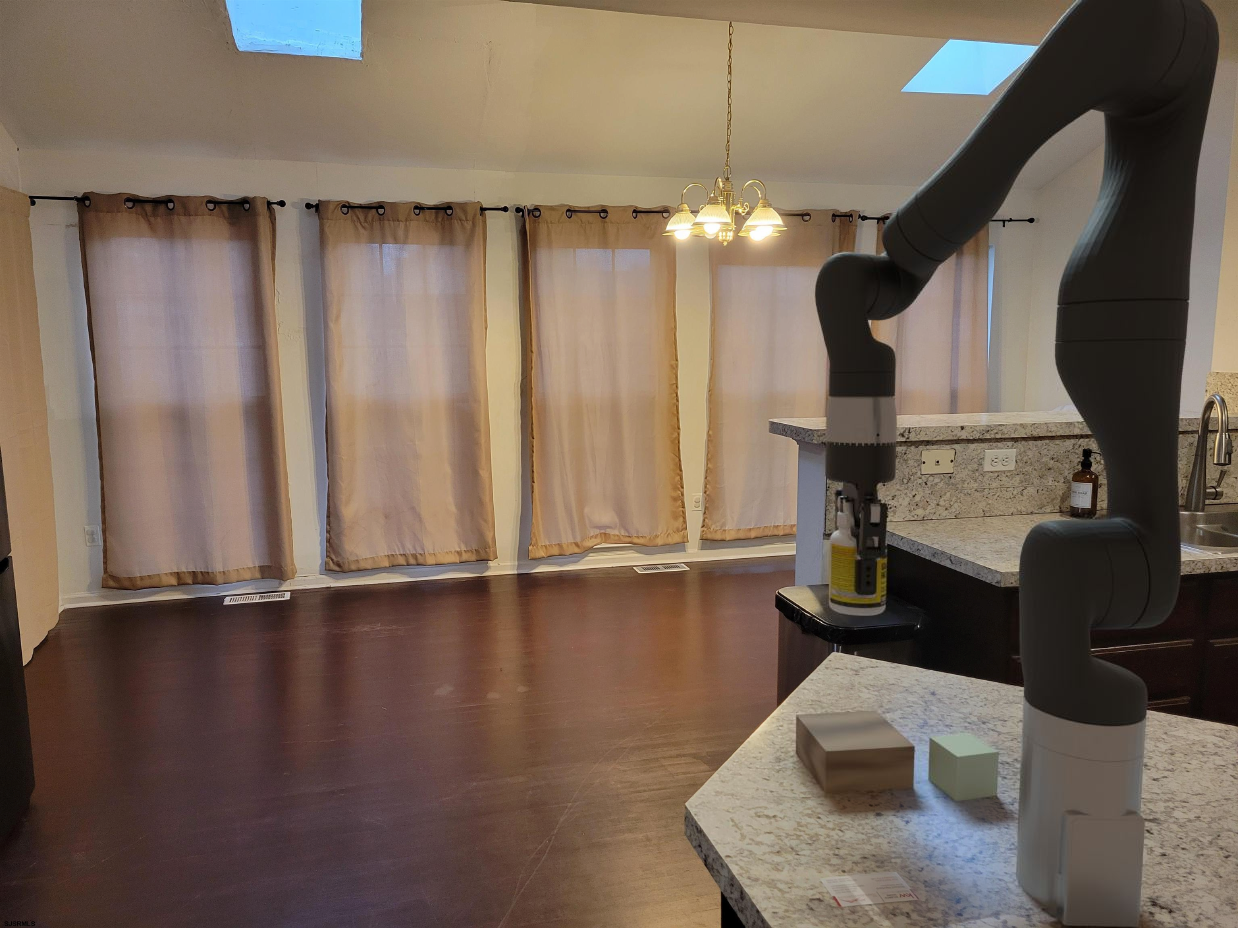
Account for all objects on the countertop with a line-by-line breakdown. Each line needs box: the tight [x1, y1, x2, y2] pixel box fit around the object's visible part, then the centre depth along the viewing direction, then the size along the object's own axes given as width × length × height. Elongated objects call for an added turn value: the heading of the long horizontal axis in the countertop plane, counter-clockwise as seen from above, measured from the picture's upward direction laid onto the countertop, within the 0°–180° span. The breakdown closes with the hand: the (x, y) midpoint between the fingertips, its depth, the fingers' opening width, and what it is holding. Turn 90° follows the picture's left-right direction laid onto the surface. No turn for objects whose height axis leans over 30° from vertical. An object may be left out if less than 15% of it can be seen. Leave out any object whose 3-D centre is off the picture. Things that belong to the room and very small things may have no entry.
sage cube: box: [927, 732, 1000, 802], centre depth 90 cm, size 5×5×5 cm
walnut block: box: [795, 710, 916, 794], centre depth 95 cm, size 10×10×5 cm
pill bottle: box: [828, 511, 888, 617], centre depth 93 cm, size 6×6×11 cm
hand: (857, 586), depth 93 cm, fingers closed on pill bottle, 6 cm apart
